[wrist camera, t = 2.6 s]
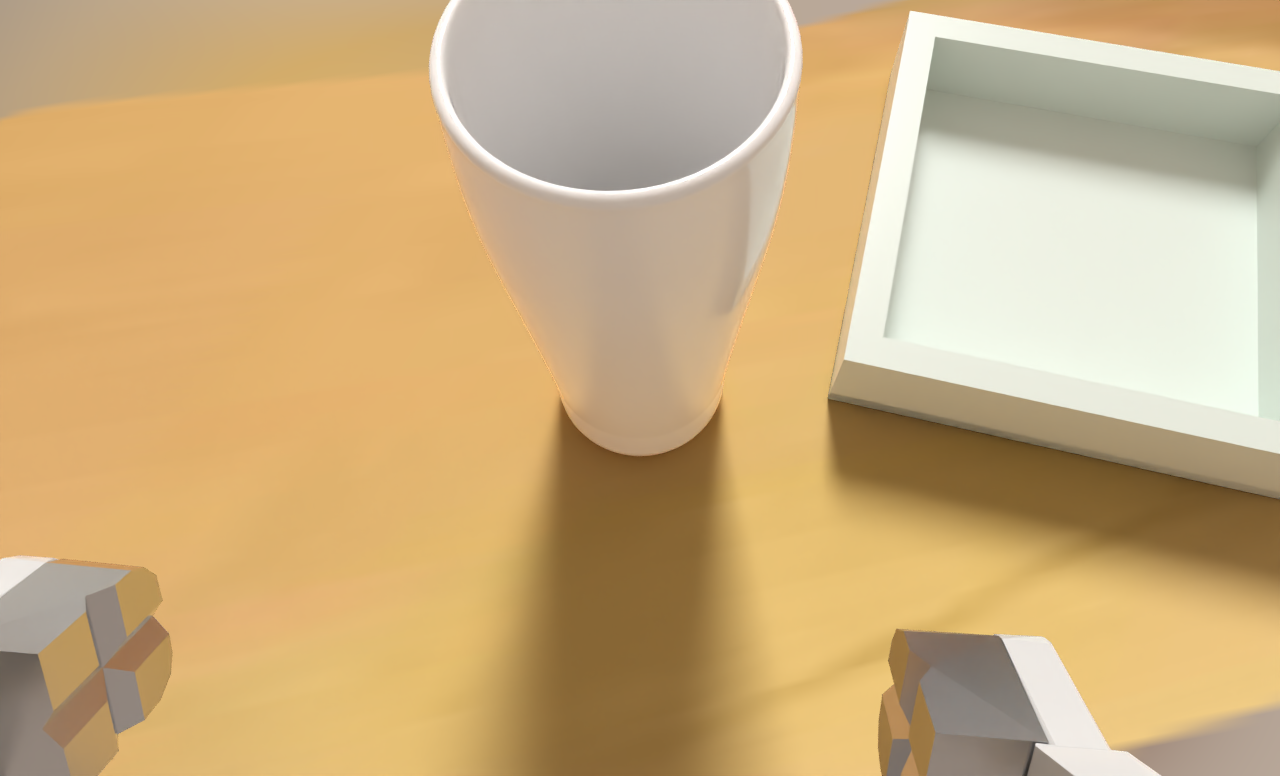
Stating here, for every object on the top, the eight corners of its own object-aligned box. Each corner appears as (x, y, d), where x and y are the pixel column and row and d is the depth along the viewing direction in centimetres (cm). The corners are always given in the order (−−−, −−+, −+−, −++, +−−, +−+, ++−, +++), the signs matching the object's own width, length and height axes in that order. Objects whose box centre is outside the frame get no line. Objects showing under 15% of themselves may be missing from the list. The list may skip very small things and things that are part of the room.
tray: (827, 398, 29) (843, 359, 26) (890, 72, 34) (910, 10, 31) (1283, 500, 27) (1353, 469, 24) (1277, 138, 32) (1333, 80, 30)
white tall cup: (528, 313, 30) (408, -62, 17) (721, 280, 31) (760, -116, 17) (553, 501, 28) (437, 239, 14) (765, 464, 28) (854, 169, 14)
